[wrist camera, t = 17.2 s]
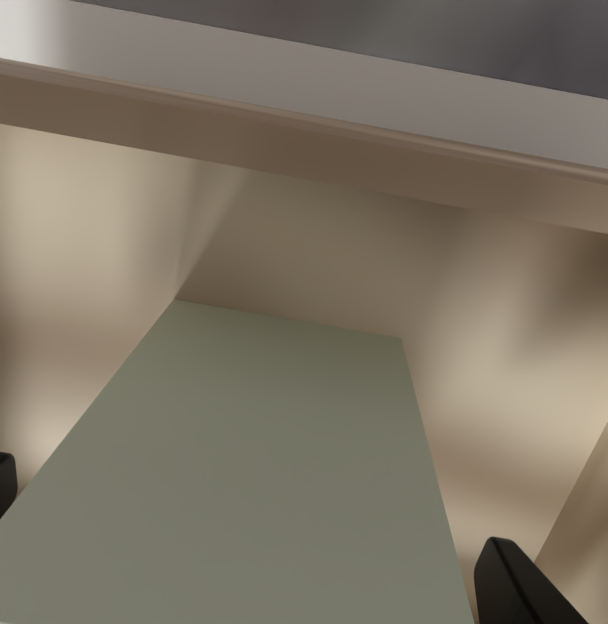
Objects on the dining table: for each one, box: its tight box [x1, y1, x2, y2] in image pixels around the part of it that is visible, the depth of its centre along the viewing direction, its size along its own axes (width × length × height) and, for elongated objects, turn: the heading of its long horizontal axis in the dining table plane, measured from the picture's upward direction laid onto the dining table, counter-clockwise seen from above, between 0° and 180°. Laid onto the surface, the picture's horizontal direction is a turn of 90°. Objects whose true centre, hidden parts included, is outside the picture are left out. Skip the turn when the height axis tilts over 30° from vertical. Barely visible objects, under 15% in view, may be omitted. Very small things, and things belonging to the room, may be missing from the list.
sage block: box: [0, 299, 474, 624], centre depth 9 cm, size 5×5×7 cm
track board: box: [0, 0, 608, 169], centre depth 15 cm, size 16×30×1 cm, turn 81°
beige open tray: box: [0, 58, 608, 624], centre depth 12 cm, size 13×16×6 cm
